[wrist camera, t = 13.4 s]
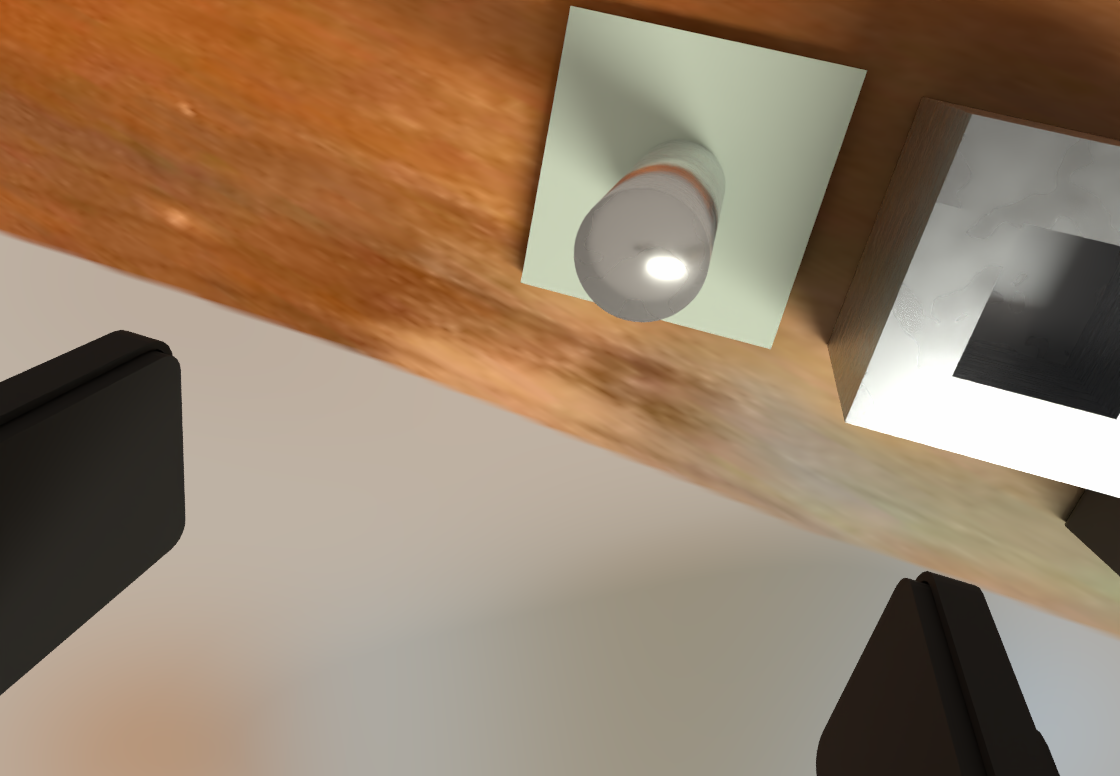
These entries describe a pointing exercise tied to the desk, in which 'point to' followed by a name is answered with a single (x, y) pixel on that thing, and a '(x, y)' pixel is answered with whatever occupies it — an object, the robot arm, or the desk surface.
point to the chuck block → (992, 298)
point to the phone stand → (1098, 525)
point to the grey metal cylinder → (653, 233)
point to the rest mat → (708, 119)
